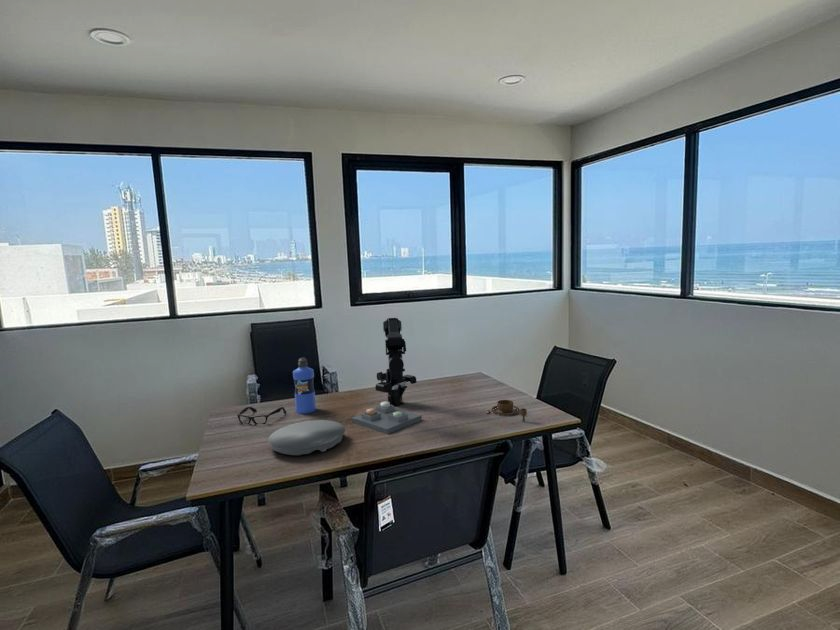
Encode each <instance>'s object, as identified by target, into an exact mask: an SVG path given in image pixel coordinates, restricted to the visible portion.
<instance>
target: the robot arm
mask: <svg viewBox="0 0 840 630" xmlns="http://www.w3.org/2000/svg"><path fill="white" fill-rule="evenodd" d="M382 324H383V325H382V328H383V330H382V331H383V333H384V334H385V335H384V337H385V338H386V339H385V341H384V342H385V354H386V356H387V357H388V358H387V359H388V368H387V369H386V372H385V373H383V372H382V371H380V372H377V373H376V379H377V381H380V382H378V383H376V384H375V391H377V392H381V393H387V402H390V405H393V406H395V407H397V406H401V405H403V404H405V401H403V395H404V393H405V391H406V389H407V388H408V385H406V383H410V384H411V385H413V384H416V383H417V377H416V375H412V374H406V375H405V374H404V372H406V368H404V366H405V363H404V360H403V355H406V352H407V347H406V346H407V345H406V341H405V338H403V335H402V333H401V332H402V330H403V326H402V321H401V320H400V319H399V318H398V317H388V318H386V320H384V321H383V322H382Z"/></svg>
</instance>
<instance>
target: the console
mask: <svg viewBox="0 0 840 630" xmlns="http://www.w3.org/2000/svg"><path fill="white" fill-rule="evenodd" d="M375 409H376V414H375V415H372V416H369V415H366V411H365V412H363V413H361V414H359V415H355V416H352V417H351V423H352V424H356V425H359V426H362V427H365V428H368V429H370V430H374V431H377V432H380V433H383V434H386V435H389V434H392V433H393V432H396V431H397V430H401V429H403V428H405V427H408V426H410V425H412V424H415V423H417V422H420V421H422V419H423V418H422V415H421V414H417V413H414V412H410V411H406V410H404V409H400V408H396V406H393V405H390V407H388V408H386V409H384V408H381V404H380V405H377V406H375ZM398 411H399V412H403V415H401V416H399V417H396V416H393V413H394V412H398Z"/></svg>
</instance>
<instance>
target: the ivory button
mask: <svg viewBox="0 0 840 630" xmlns="http://www.w3.org/2000/svg"><path fill="white" fill-rule="evenodd" d="M380 405H381V408H384V409H386V408H388V407H390V402H388V401H381V402H380Z"/></svg>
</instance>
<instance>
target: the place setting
mask: <svg viewBox="0 0 840 630" xmlns="http://www.w3.org/2000/svg"><path fill="white" fill-rule="evenodd" d="M496 402H497V405H494V406H492V407H491V411H492V413H493V414H494V413H495V414H494V415H497V414H499V415H498V416H501V415H512V416H514V415H513V414H516V415H517V413H518V412H519V413H520V415H521V417H522V423H523V422H524V423H526V418H525V417H527V415H528V413H527V408H525V407H524V408H523V407H522V408H519V407H518V406H515V405H514V401H513V400H510V399H501V400H498V401H496ZM497 407H498V409H497V410H498V411H500V412H498V411H495V410H496V409H495V408H497ZM513 407H514V408H516V409H518V411H515V412H511V411H513V410H514V409H513ZM493 409H495V410H493ZM501 411H502V412H501ZM503 412H509V413H503ZM519 413H518V414H519Z"/></svg>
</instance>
